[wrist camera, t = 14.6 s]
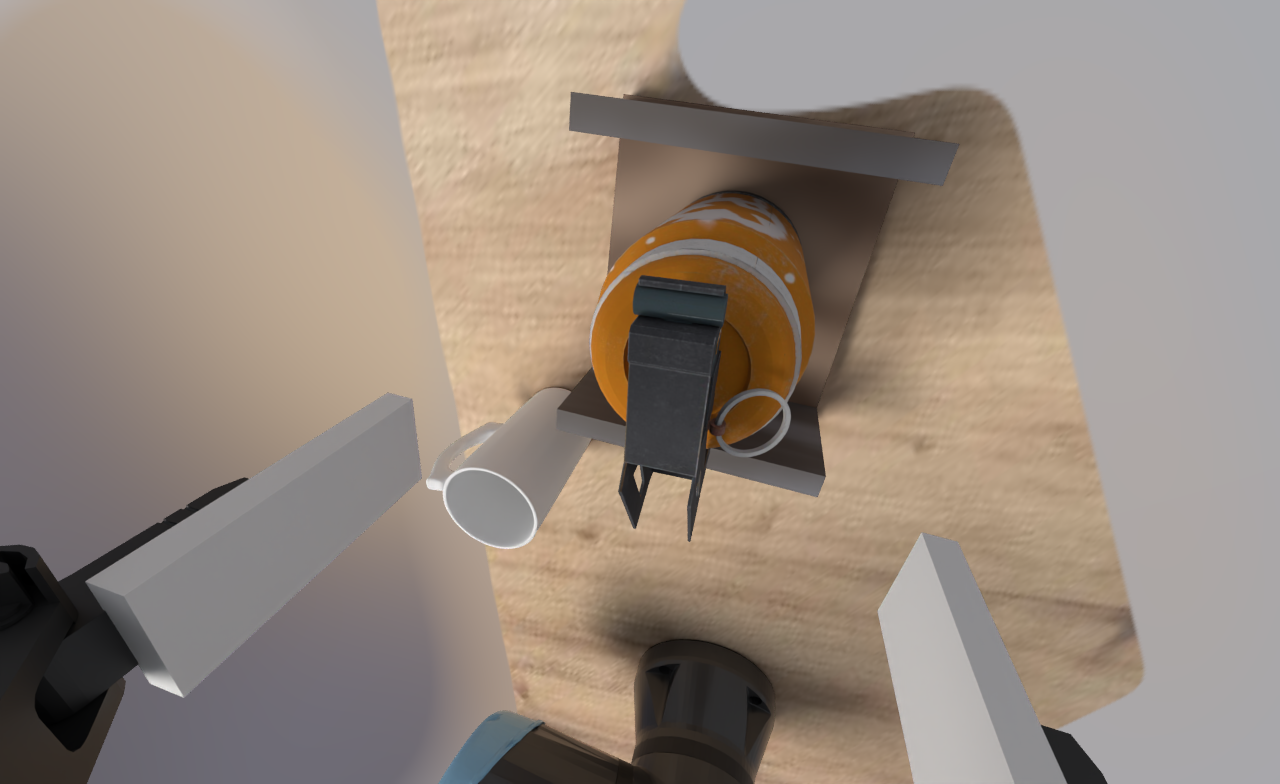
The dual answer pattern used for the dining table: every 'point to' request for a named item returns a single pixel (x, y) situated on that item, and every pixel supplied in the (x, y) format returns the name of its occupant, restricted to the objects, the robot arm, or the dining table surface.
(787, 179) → the holder
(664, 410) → the canister
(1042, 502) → the dining table surface
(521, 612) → the dining table surface
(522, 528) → the mug
